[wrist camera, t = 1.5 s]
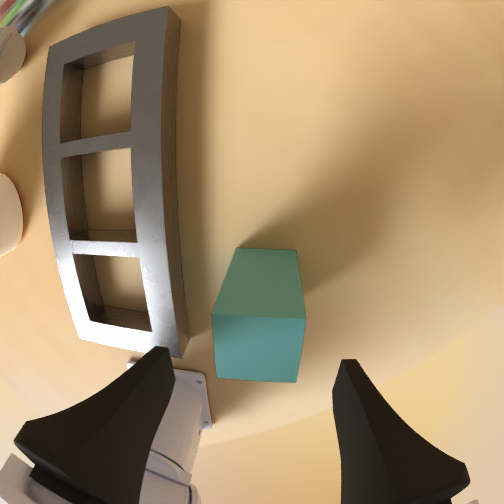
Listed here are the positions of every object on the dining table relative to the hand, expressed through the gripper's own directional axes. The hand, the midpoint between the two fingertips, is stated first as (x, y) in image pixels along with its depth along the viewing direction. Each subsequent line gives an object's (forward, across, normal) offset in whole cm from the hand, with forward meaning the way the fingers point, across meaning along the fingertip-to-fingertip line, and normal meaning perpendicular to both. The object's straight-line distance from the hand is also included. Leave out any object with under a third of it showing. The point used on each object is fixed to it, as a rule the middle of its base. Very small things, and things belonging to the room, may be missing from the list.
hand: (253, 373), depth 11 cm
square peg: (+10, 0, 0) cm, 10 cm away
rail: (+10, +11, -6) cm, 16 cm away
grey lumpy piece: (+10, +23, -20) cm, 32 cm away
